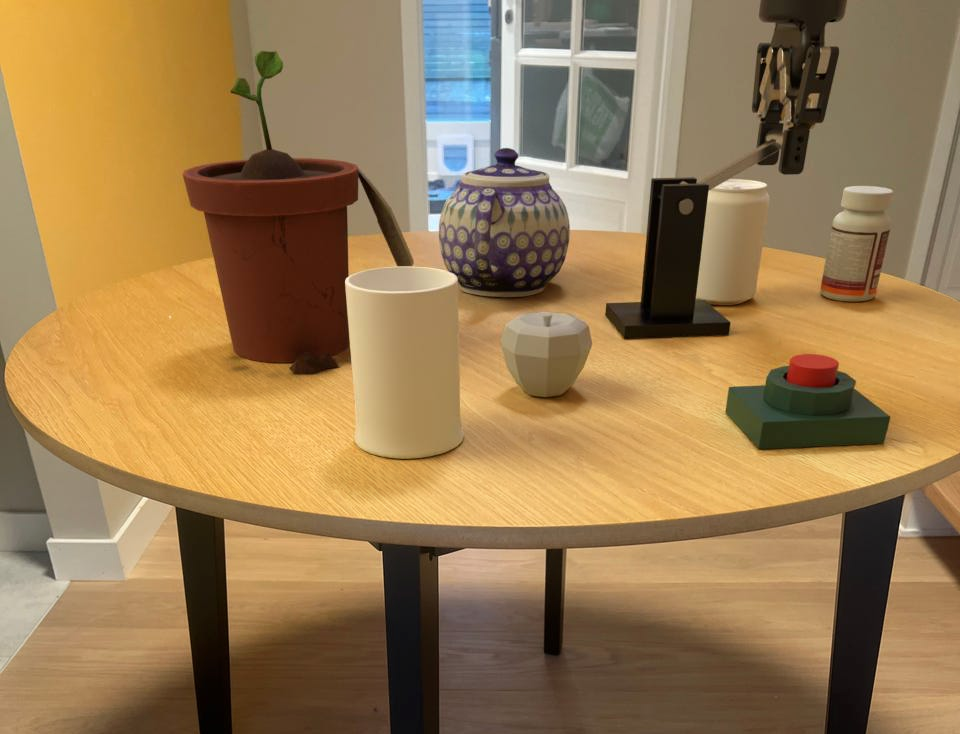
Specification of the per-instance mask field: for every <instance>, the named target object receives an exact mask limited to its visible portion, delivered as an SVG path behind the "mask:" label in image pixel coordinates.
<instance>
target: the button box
mask: <svg viewBox="0 0 960 734" xmlns="http://www.w3.org/2000/svg"><path fill="white" fill-rule="evenodd" d="M788 369H789V365H783V366H779V367H777V368H773V369H770V371H769V372H768V374H767V376H766V378H765V384H764V385H763V384H762V385H741V386H738V385H737V386H729V387H728V389H727V390H728V391H727V399H726V403H725V405H726V406H725V412H724V413H725V414H726V415H727V416H728V417H729V418H730V419H731V421H732V422H733V423H734V424H735V425H736V426H737V427H738V428H739V429H740V430H741V431H742V433H743V434H744V435H745V436H746V438H748V439H749V441H750V442H752V444H753V445H754V446H755V447H756V448H757V449H758V450H771V449H773V450H774V449H793V448H814V447H815V448H816V447H836V446H837V447H838V446H858V445H859V446H860V445H877V444H878V445H879V444H885V442H886V437H887V434H888V429H889V425H890V421H891V415H890V414H888V413H887V412H886V411H884V410H883V409H882V408H880V407H879V406H878V405H877V404H875V403H874V402H873V401H871V400H870V399H869V398H868V397H866V396H865V395H864V394H863V393H861V392H859V390H857V389H856V388H855V387H856V383H857V380H856V379H854V378H853V377H852V376H851V375H849V374H848V373H846V372H844V371H841V370H838V371H837V376H836V380H835V385H834V386H831V387H819V388H815V387H807V386H799V385H796V384H793V383H790V382H787V381H786V380H787V374H788Z"/></svg>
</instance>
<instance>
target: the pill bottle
mask: <svg viewBox="0 0 960 734" xmlns="http://www.w3.org/2000/svg"><path fill="white" fill-rule="evenodd" d="M893 194H894V190H893V189H890V188H888V187H884V186H883V187H882V186H873V185H852V186H851V185H850V186H847V187H844V189H843V192H842V197H841V202H840V206H841V207H842V208H844V209H843V211H840V212H839V213H837V214H836V216H835V217H834V218H833V220H832V225H831V229H830V234H829V241H828V245H827V251H826V256H825V262H824V267H823V272H822V277H821V284H820V294H821V295H822V296H823V297H825V298H827V299H829V300H833V301H838V302H839V301H840V302H851V303H854V302H855V303H857V302H867V301H870V300H872V299H873V298H875V296H876V295H877V290H878V286H879V282H880V277H881V274H882V268H883V263H884V258H885V254H886V249H887V244H888V241H889V235H890V231H891V225H892V220H891V217H890V216H889V215H888V214H887V213H886V212H885V211H886V210H889V209H891V204H892V199H893V196H894V195H893Z"/></svg>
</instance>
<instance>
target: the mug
mask: <svg viewBox="0 0 960 734" xmlns="http://www.w3.org/2000/svg"><path fill="white" fill-rule="evenodd" d="M345 288H346V301H347V313H348V325H349V337H350V344H349V348H350V360H351V361H350V362H351V374H352V385H353V396H354V409H355V412H354V413H355V430H354V436H353V437H354V442H355V443H356V446H357V447H358V448H360V449H361V450H362V451H364V452H367V453H369V454H370V455H371V454H372V455H375V456H376V457H377V456H378V457H382V458H388V459H400V460H401V459H404V460H407V459H423V458H429V457H433V456H438V455H442V454H445V453H447V452H450V451H451V450H454V449H455V448H457V447H458V446H459V445H460V444H461V443H462V442H463V440H464V437H465V432H464V428H463V424H462V415H461V387H460V386H461V382H460V379H461V377H460V375H461V374H460V325H459V323H460V322H459V283H458V278H457V276H456V275H455V274H453V273H451V272H449V271H448V270H444V269H440V268H435V267H427V266H414V265H413V266H397V265H396V266H385V267H377V268H376V267H375V268H369V269H365V270H361V271H358V272H355V273H353V274H350V275H349V277H347V278H346V280H345Z"/></svg>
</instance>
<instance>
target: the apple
mask: <svg viewBox="0 0 960 734" xmlns="http://www.w3.org/2000/svg"><path fill="white" fill-rule="evenodd" d="M499 345H500V348H501V351H502V355H503V358H504V362H505V364H506V368H507V369H508V371H509V373H510V375H511V377H512V379H513V381H514V382H515V383H516V385H517V386H518V387H519V388H520V389H521V390H522V391H523V392H525V393H526V394H528V396H534V397H541V398H551V397H557V396H562V395H563V394H564V393H566V391H567V390H569V388H570V387H571V386H573V385H574V383H575V382H576V381H577V379H578V377H579V376H580V374H581V373H582V371H583V370H584V368H585V365H586V363H587V361H588V358H589V356H590V352H591V349H592V346H593V340H592V335H591V331H590V325H589V324H588V323H586V321H585V320H582V319H580V318H579V317H577V316H575V315H574V314H569V313H563V312H553V311H552V312H551V311H541V312H532V313H522V314H518V316H516V317H514V318H513V319H511V320H510V321H509V322H508V323H506V324H505V326H504V329H503V333H502V336H501V340H500V344H499Z"/></svg>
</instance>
